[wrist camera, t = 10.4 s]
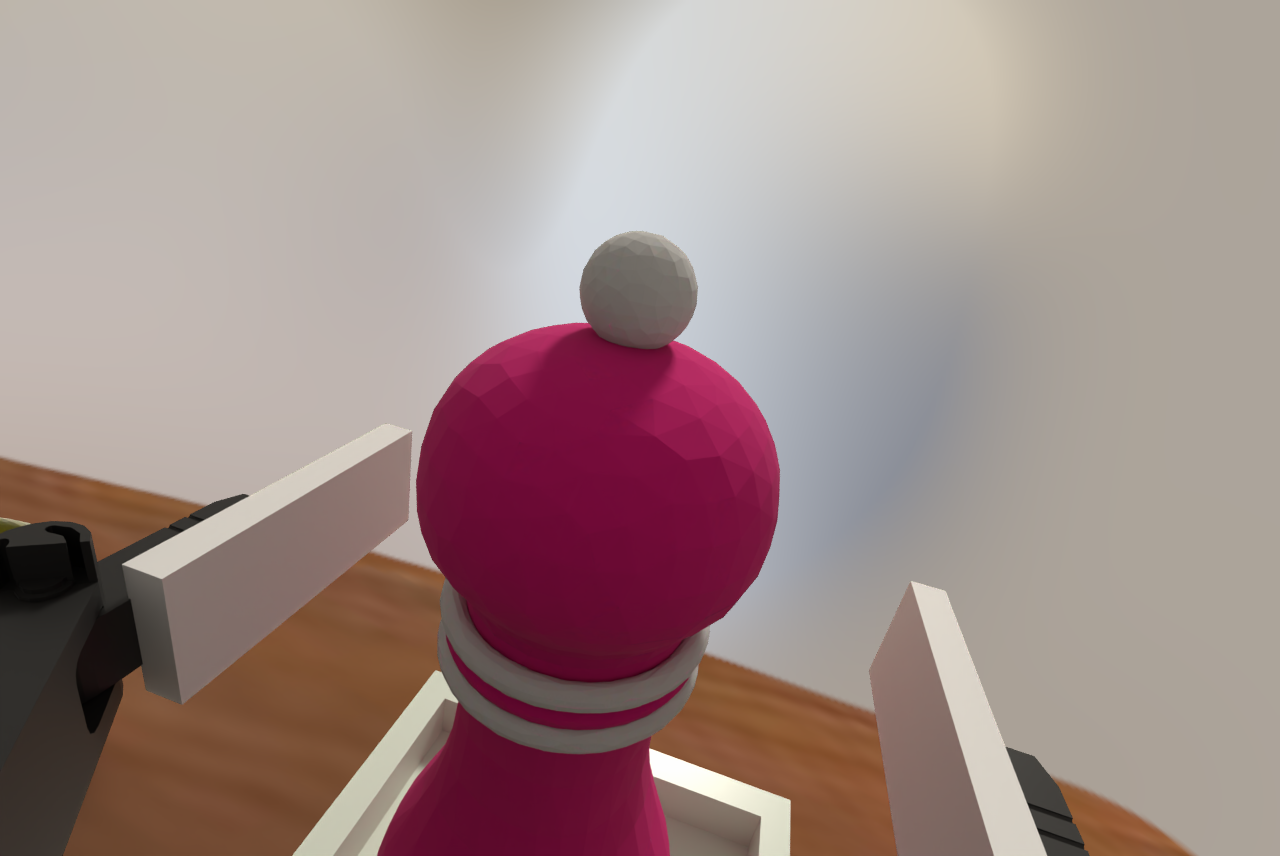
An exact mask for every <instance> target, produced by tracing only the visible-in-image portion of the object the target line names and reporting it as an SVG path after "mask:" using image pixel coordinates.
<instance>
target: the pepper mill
mask: <svg viewBox="0 0 1280 856" xmlns="http://www.w3.org/2000/svg"><path fill="white" fill-rule="evenodd" d="M697 289H698V286H697V282H696V278H695V274H694V270H693V267H692V265H691V263H690V261H689V259H688V258H687V256H686V255H685V253H684V252H683V251H682V250H681V249H679V247H677V246H676V245H674V244H673V243H672V242H670V241H669V240H667V239H666V238H665V237H664V236H661V235H657V234H653V233H648V232H644V231H631V232H627V233H623V234H619V235H616V236H614V237H613V238H611V239H609V240H607V241H606V242H604V243H603V244H602V245H601V246H600V247H598V248H597V249H596V250H595V251H594V253H593V255H592V256H591V258H590V260H589V261H588V263H587V265H586V266H585V268H584V270H583V275H582V279H581V284H580V299H581V305H582V309H583V312H584V315H585V317H586V320H587V321H588V323H571V324H562V325H553V326H548V327H544V328H539V329H534V330H530V331H528V332H526V333H523V334H520V335H518V336H515V337H513V338H510V339H508V340H505V341H503V342H501V343H499V344H497V345H495V346H493V347H491V348H489V349H488V350H487V351H485V352H484V353H483V354H481V355H480V356H479V357H477V358H476V359H475V360H473V361H472V362H471V363H470V364H469V365H468V366H467V367H466V368H465V369H464V370H463V371H461V372H460V373H459V374H458V376H456V378H455V379H454V380H453V382H452V383H451V385H450V386H449V388H448V389H447V391H446V392H445V394H444V395H443V397H442V398H441V400H440V401H439V403H438V405H437V406H436V407H435V409H434V411H433V414H432V417H431V420H430V423H429V426H428V429H427V431H426V434H425V437H424V440H423V443H422V446H421V453H420V459H419V466H418V472H417V479H416V489H417V513H418V518H419V523H420V527H421V532H422V535H423V538H424V540H425V543H426V545H427V548H428V550H429V553H430V556H431V558H432V560H433V561H434V563H435V564H436V565H437V567H438V568H439V569H440V571H441V572H442V573H443V574H444V576H445V577H446V578H445V582H444V585H443V589H442V593H441V598H440V606H441V617H442V619H441V622H440V625H439V631H438V659H439V663H440V667H441V671H442V674H443V676H444V678H445V680H446V682H447V684H448V686H449V688H450V690H451V692H452V694H453V695H454V696H455V698H456V699H457V700H458V705H457V710H456V714H455V719H454V723H453V728H452V730H451V732H450V734H449V737H448V739H447V741H446V743H445V745H444V746H443V747H442V748H441V749H440V751H439V752H438V753H437V754H436V755H435V756H434V757H433V759H432V760H431V761H430V762H429V763H428V764H427V765H426V767H425V768H424V769H423V770H422V771H421V773H420V774H419V775H418V776H417V777H416V779H415V780H414V782H413V783H412V785H411V786H410V788H409V789H408V791H407V793H406V794H405V796H404V797H403V799H402V801H401V802H400V804H399V806H398V808H397V810H396V812H395V814H394V816H393V818H392V820H391V822H390V824H389V826H388V828H387V831H386V833H385V835H384V838H383V840H382V843H381V845H380V847H379V850H378V854H377V856H670V848H669V838H668V832H667V825H666V819H665V816H664V813H663V809H662V806H661V803H660V799H659V796H658V793H657V789H656V786H655V783H654V778H653V774H652V769H651V765H650V752H649V745H650V740H651V736H652V735H653V734H655V733H656V732H658V731H660V730H661V729H662V728H663V727H665V726H666V725H667V724H668V723H669V722H670V721H671V720H672V719H673V718H674V717H675V716H676V715H677V714H678V713H679V712H680V711H681V710H682V708H683V707H684V705H685V703H686V702H687V700H688V698H689V696H690V694H691V692H692V690H693V688H694V686H695V682H696V678H697V674H698V664H699V663H700V661H701V659H702V657H703V654H704V652H705V649H706V646H707V644H708V638H709V633H710V627H709V625H711V624H713V623H714V622H716V621H718V620H719V619H721V618H723V617H724V616H725V615H726V614H727V612H728V611H729V610H730V609H731V608H732V607H733V606H734V605H735V603H736V602H737V601H738V600H739V599H740V597H741V596H742V595H743V593H744V592H745V591H746V590H747V589H748V588H749V586H750V585H751V584H752V583H753V582H754V580H755V579H756V578H757V577H758V575H759V572H760V570H761V568H762V565H763V563H764V561H765V558H766V556H767V553H768V551H769V549H770V546H771V542H772V538H773V535H774V531H775V527H776V523H777V518H778V505H779V484H780V483H779V482H780V469H779V464H778V458H777V453H776V448H775V444H774V441H773V439H772V436H771V434H770V431H769V428H768V425H767V423H766V420H765V419H764V417H763V415H762V413H761V412H760V410H759V408H758V406H757V405H756V403H755V402H754V401H753V399H752V398H751V397H750V396H749V394H748V393H747V392H746V391H745V390H744V388H743V387H742V386H741V384H740V383H739V382H738V381H737V380H736V379H734V377H732V376H731V375H730V374H729V373H728V372H726V371H725V370H724V369H723V368H722V367H721V366H719V365H718V364H717V363H716V362H714V361H713V360H711V359H709V358H707V357H706V356H704V355H702V354H701V353H699V352H697V351H696V350H694V349H692V348H690V347H689V346H686V345H684V344H681V343H678V342H676V341H673V340H674V339H675V338H677V337H678V336H679V335H680V334H681V333H682V332H683V330H684V329H685V328H686V327H687V325H688V323H689V321H690V320H691V318H692V316H693V313H694V310H695V307H696V304H697Z"/></svg>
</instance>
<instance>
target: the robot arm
mask: <svg viewBox="0 0 1280 856" xmlns="http://www.w3.org/2000/svg"><path fill="white" fill-rule="evenodd" d="M411 442H412V431H410V430H407V429H404V428H400V427H397V426H394V425H391V424H387V423H385V424H383V425H382V426H380V427H378V428H376V429H374V430H372V431H371V432H368V433H366V434H365V435H363V436H361V437H359V438H357V439H355V440H354V441H352V442H350V443H348V444H346V445H344V446H342V447H340V448H338V449H337V450H335V451H333V452H331V453H329V454H327V455H325V456H324V457H322V458H320V459H318V460H316V461H314V462H313V463H310V464H308V465H307V466H305V467H303V468H301V469H299V470H297V471H295V472H294V473H292V474H290V475H288V476H286V477H284V478H283V479H280V480H279V481H277V482H275V483H273V484H271V485H269V486H268V487H266V488H264V489H262V490H260V491H258V492H256V493H254V494H253V495H251V496H248V495H246V494H242V495H238V496H235V497H231V498H227V499H224V500H220V501H216V502H214V503H212V504H210V505H208V506H206V507H204V508H202V509H200V510H198V511H196V512H194V513H192V514H190V516H189V517H188V518H186V517H184V518H182V519H180V520H178V521H177V522H175V523H173V524H171V525H170V527H169V528H163V529H161V530H159V531H157V532H155V533H153V534H151V535H149V536H147V537H145V538H143V539H141V540H139V541H138V542H136V543H134V544H132V545H130V546H128V547H126V548H124V549H122V550H120V551H118V552H116V553H114V554H112V555H110V556H108V557H106V558H104V559H102V560H100V561H99V562H97V559H96V554H95V549H94V545H93V540H92V535H91V532H90V531H89V530H88V529H87V528H86V527H85V526H83V525H80V524H76V523H73V522H59V521H49V522H42V523H34V524H28V525H24V526H21V527H17V528H14V529H10V530H7V531H5V532H2V533H0V856H63V853H64V851H65V848H66V845H67V843H68V840H69V837H70V835H71V832H72V829H73V827H74V824H75V821H76V819H77V816H78V813H79V811H80V808H81V805H82V803H83V800H84V797H85V795H86V792H87V789H88V787H89V784H90V781H91V779H92V776H93V773H94V771H95V768H96V765H97V763H98V760H99V757H100V755H101V752H102V749H103V746H104V744H105V741H106V738H107V736H108V733H109V730H110V728H111V725H112V722H113V720H114V717H115V714H116V712H117V709H118V706H119V704H120V701H121V698H122V696H123V682H122V678H124V677H125V676H127V675H128V674H129V673H131V672H132V671H134V670H135V669H137V668H138V667H139V666H141V667H142V672H143V677H144V682H145V688H146V690H147V691H149V692H152V693H154V694H157V695H159V696H162V697H164V698H167V699H169V700H172V701H174V702H177V703H179V704H181V705H182V704H184V703H185V702H186V701H187V700H188V699H190V698H191V697H192V696H193V695H195V694H196V693H197V692H198V691H200V690H201V689H202V688H203V687H204V686H206V685H207V684H208V683H209V682H211V681H212V680H213V679H214V678H215V677H217V676H218V675H219V674H220V673H222V672H223V671H224V670H225V669H226V668H228V667H229V666H230V665H231V664H233V663H234V662H235V661H236V660H238V659H239V658H240V657H241V656H242V655H244V654H245V653H246V652H247V651H249V650H250V649H251V648H252V647H253V646H255V645H256V644H257V643H258V642H260V641H261V640H262V639H263V638H264V637H266V636H267V635H268V634H269V633H271V632H272V631H273V630H274V629H276V628H277V627H278V626H279V625H280V624H282V623H283V622H284V621H285V620H287V619H288V618H289V617H290V616H291V615H293V614H294V613H295V612H296V611H298V610H299V609H300V608H301V607H302V606H304V605H305V604H306V603H307V602H309V601H310V600H311V599H312V598H314V597H315V596H316V595H317V594H318V593H320V592H321V591H322V590H323V589H325V588H326V587H327V586H328V585H329V584H331V583H332V582H333V581H334V580H336V579H337V578H338V577H339V576H340V575H342V574H343V573H344V572H345V571H347V570H348V569H349V568H350V567H352V566H353V565H354V564H355V563H356V562H358V561H359V560H360V559H361V558H363V557H364V556H365V555H366V554H367V553H369V552H370V551H371V550H372V549H374V548H375V547H376V546H377V545H378V544H380V543H381V542H382V541H383V540H385V539H386V538H387V537H388V536H390V535H391V534H392V533H393V532H394V531H396V530H397V529H398V528H399V527H400V526H402V525H403V524H404V523H405V522H407V521H408V514H409V491H410V467H411V444H412V443H411ZM869 674H870V680H871V687H872V693H873V700H874V706H875V712H876V719H877V725H878V732H879V738H880V745H881V751H882V758H883V764H884V770H885V777H886V783H887V790H888V796H889V803H890V809H891V816H892V822H893V829H894V835H895V841H896V848H897V854H898V856H1090V855H1089V853H1088V851H1086V850H1084V842H1083V840H1082V838H1081V835H1080V833H1079V831H1078V829H1077V827H1076V824H1073V823H1072V819H1073V818H1072V815H1071V813H1070V811H1069V809H1068V806H1067V804H1066V802H1065V800H1064V798H1063V795H1062V793H1061V791H1060V789H1059V787H1058V785H1057V784H1056V783H1055V782H1054V780H1053V779H1052V778H1051V777H1050V775H1049V774H1048V773H1047V772H1046V770H1045V769H1044V768H1043V767H1042V765H1041V764H1040V763H1039V762H1038V760H1037V759H1036V758H1035V757H1034V756H1032V755H1029V754H1025V753H1022V752H1019V751H1016V750H1014V749H1011V748H1008V747H1005V745H1004V742H1003V740H1002V737H1001V734H1000V732H999V729H998V726H997V724H996V721H995V719H994V716H993V713H992V711H991V708H990V706H989V703H988V701H987V698H986V695H985V693H984V690H983V688H982V685H981V682H980V680H979V677H978V675H977V672H976V669H975V667H974V664H973V661H972V659H971V656H970V654H969V651H968V648H967V646H966V643H965V641H964V638H963V635H962V633H961V630H960V628H959V625H958V622H957V620H956V617H955V614H954V612H953V610H952V607H951V604H950V601H949V599H948V596H947V594H946V591H943V590H940V589H936V588H933V587H930V586H926V585H923V584H919V583H916V582H913V581H911V582H910V584H909V586H908V588H907V590H906V592H905V595H904V597H903V599H902V601H901V603H900V605H899V607H898V609H897V611H896V614H895V616H894V618H893V620H892V622H891V624H890V627H889V629H888V631H887V633H886V635H885V637H884V639H883V642H882V644H881V646H880V648H879V650H878V652H877V654H876V657H875V659H874V661H873V663H872V665H871V667H870V670H869Z"/></svg>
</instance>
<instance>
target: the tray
mask: <svg viewBox="0 0 1280 856" xmlns="http://www.w3.org/2000/svg"><path fill="white" fill-rule="evenodd" d="M457 705H458V700H457V699H456V698H455V696H454V695H453V694H452V692H451V690H450V688H449V686H448V684H447V682H446V680H445V678H444V676H443V674H442V672H439V671H436V670H435V672H434V673H433V674H432V676H431V677H430V678H429V680H428V681H427V682H426V683H425V685H424V686H423V687H422V689H421V690H420V691H419V692H418V694H417V695H416V696H415V698H414V699H413V700H412V702H411V703H410V704H409V705H408V707H407V708H406V709H405V711H404V712H403V713H402V714H401V716H400V717H399V718H398V720H397V721H396V722H395V724H394V725H393V726H392V727H391V729H390V730H389V731H388V733H387V734H386V735H385V736H384V738H383V739H382V740H381V742H380V743H379V744H378V746H377V747H376V748H375V749H374V751H373V752H372V753H371V755H370V756H369V757H368V758H367V760H366V761H365V762H364V764H363V765H362V766H361V768H360V769H359V770H358V771H357V773H356V774H355V775H354V777H353V778H352V779H351V780H350V782H349V783H348V784H347V786H346V787H345V788H344V789H343V791H342V792H341V793H340V795H339V796H338V797H337V799H336V800H335V801H334V802H333V804H332V805H331V806H330V808H329V809H328V810H327V811H326V813H325V814H324V815H323V817H322V818H321V819H320V821H319V822H318V823H317V824H316V826H315V827H314V828H313V830H312V831H311V832H310V833H309V835H308V836H307V837H306V839H305V840H304V841H303V843H302V844H301V845H300V846H299V848H298V849H297V850H296V852H295V853H294V854H293V855H292V856H377V854H378V850H379V847H380V845H381V843H382V840H383V838H384V835H385V833H386V831H387V828H388V826H389V824H390V822H391V820H392V818H393V816H394V814H395V812H396V810H397V808H398V806H399V804H400V802H401V801H402V799H403V797H404V796H405V794H406V793H407V791H408V789H409V788H410V786H411V785H412V783H413V782H414V780H415V779H416V777H417V776H418V775H419V774H420V773H421V771H422V770H423V769H424V768H425V767H426V765H427V764H428V763H429V762H430V761H431V760H432V759H433V757H434V756H435V755H436V754H437V753H438V752H439V751H440V749H441V748H442V747H443V746H444V745H445V743H446V741H447V739H448V737H449V734H450V732H451V730H452V728H453V723H454V719H455V714H456V710H457ZM649 752H650V765H651V769H652V774H653V778H654V783H655V786H656V789H657V793H658V796H659V799H660V803H661V806H662V809H663V813H664V816H665V819H666V825H667V832H668V838H669V848H670V856H790V800H788V799H786V798H783V797H780V796H777V795H775V794H772V793H769V792H767V791H764V790H761V789H758V788H756V787H753V786H750V785H747V784H745V783H742V782H739V781H736V780H734V779H731V778H728V777H726V776H723V775H720V774H717V773H715V772H712V771H709V770H706V769H704V768H701V767H698V766H696V765H693V764H690V763H687V762H685V761H682V760H679V759H676V758H674V757H671V756H668V755H666V754H663V753H660V752H657V751H655V750H652V749H649Z"/></svg>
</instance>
